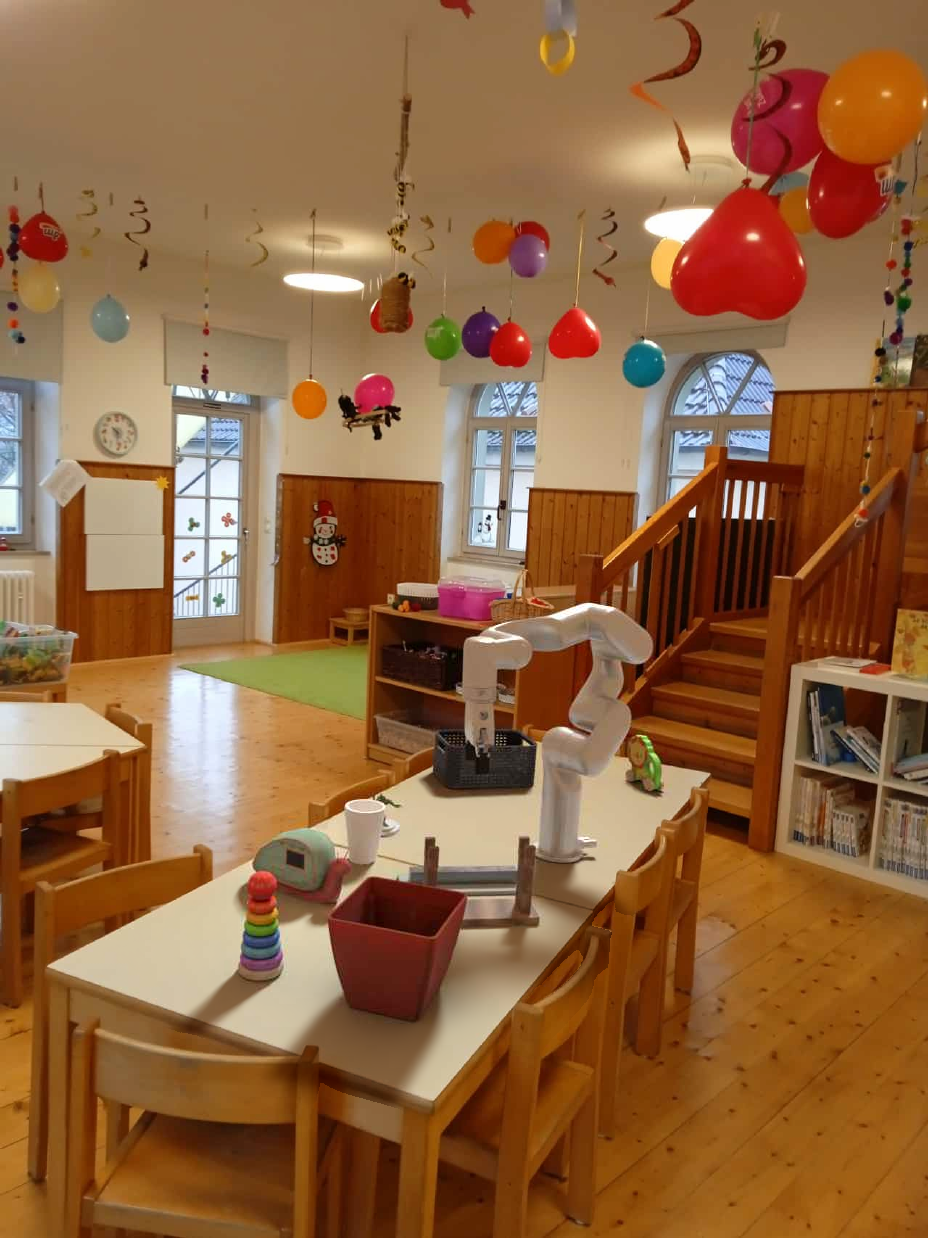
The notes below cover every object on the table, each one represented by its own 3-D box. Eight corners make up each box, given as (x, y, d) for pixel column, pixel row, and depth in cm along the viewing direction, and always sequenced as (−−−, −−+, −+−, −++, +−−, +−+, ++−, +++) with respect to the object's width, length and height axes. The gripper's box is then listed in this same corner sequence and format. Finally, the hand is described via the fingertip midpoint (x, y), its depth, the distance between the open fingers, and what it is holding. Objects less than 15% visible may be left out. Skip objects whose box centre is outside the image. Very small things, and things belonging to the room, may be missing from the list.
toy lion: (664, 792, 286) (669, 743, 284) (649, 793, 284) (654, 744, 282) (634, 776, 300) (638, 730, 298) (620, 777, 298) (624, 731, 296)
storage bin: (515, 768, 301) (518, 727, 299) (537, 787, 283) (541, 744, 281) (429, 771, 293) (432, 729, 291) (447, 791, 274) (449, 746, 273)
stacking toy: (241, 960, 171) (244, 862, 169) (285, 960, 172) (289, 863, 169) (234, 982, 163) (237, 880, 161) (281, 983, 164) (284, 881, 161)
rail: (513, 878, 213) (514, 865, 213) (516, 883, 210) (517, 871, 210) (408, 879, 209) (409, 866, 208) (410, 885, 206) (410, 872, 205)
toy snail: (246, 881, 204) (248, 821, 203) (270, 870, 211) (273, 811, 209) (335, 914, 192) (338, 850, 190) (358, 902, 198) (362, 839, 196)
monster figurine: (361, 839, 233) (363, 799, 231) (346, 822, 244) (348, 784, 242) (406, 834, 238) (408, 795, 236) (390, 818, 249) (392, 781, 247)
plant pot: (365, 960, 174) (369, 873, 172) (463, 981, 169) (469, 892, 166) (320, 1013, 156) (324, 917, 153) (429, 1038, 150) (435, 939, 148)
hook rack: (528, 905, 201) (533, 833, 199) (539, 924, 193) (544, 850, 190) (412, 907, 197) (417, 834, 194) (418, 927, 188) (423, 851, 186)
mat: (517, 875, 217) (518, 872, 217) (528, 893, 207) (528, 890, 207) (397, 877, 211) (397, 873, 211) (402, 896, 202) (402, 892, 202)
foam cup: (389, 856, 223) (392, 803, 221) (373, 870, 215) (375, 815, 213) (353, 849, 226) (355, 797, 224) (335, 862, 217) (338, 808, 216)
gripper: (505, 702, 200) (502, 779, 203) (486, 683, 217) (484, 754, 220) (471, 702, 199) (468, 780, 201) (454, 684, 215) (452, 755, 218)
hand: (476, 766), depth 211 cm, fingers open, 9 cm apart
